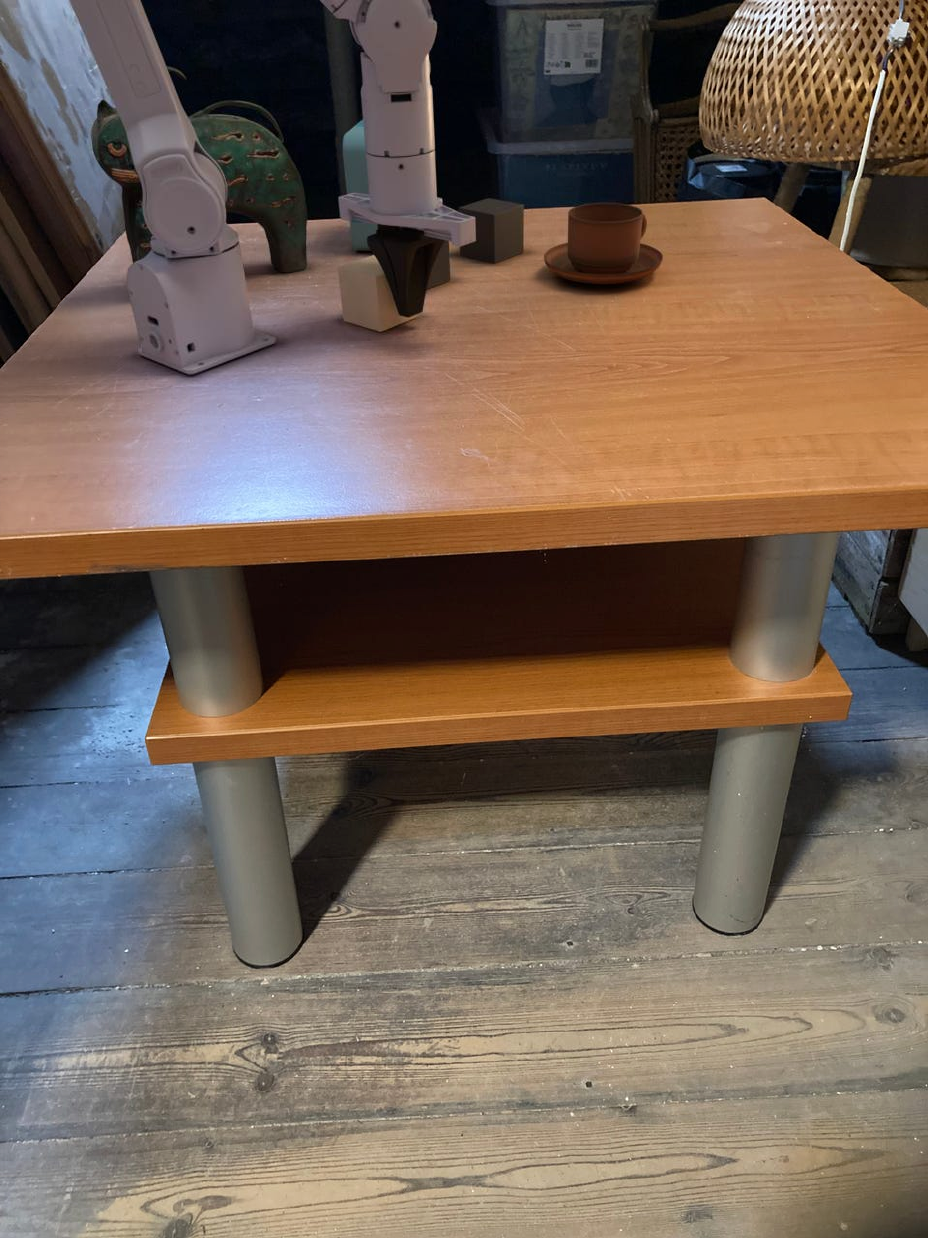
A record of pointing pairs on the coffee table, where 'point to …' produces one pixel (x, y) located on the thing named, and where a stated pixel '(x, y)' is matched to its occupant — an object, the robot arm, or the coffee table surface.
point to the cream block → (368, 296)
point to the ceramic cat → (249, 165)
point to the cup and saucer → (604, 246)
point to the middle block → (440, 267)
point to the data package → (357, 181)
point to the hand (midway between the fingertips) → (410, 313)
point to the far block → (495, 230)
